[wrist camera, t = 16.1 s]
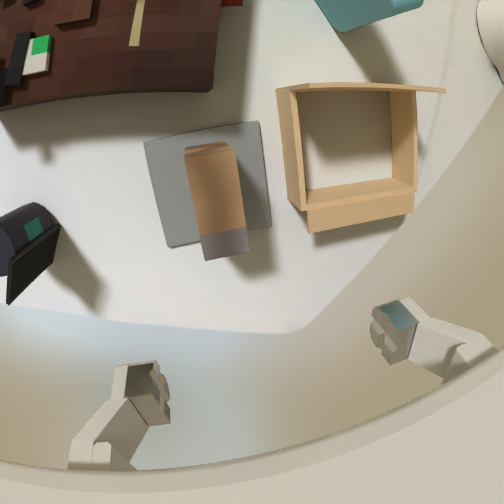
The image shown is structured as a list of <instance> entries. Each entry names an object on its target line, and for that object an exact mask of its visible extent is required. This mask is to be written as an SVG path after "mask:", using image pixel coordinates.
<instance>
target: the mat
mask: <svg viewBox="0 0 504 504" xmlns="http://www.w3.org/2000/svg"><path fill="white" fill-rule="evenodd" d="M217 141H225V142H226V143H227V144H228V145H230V146H231V147H232V148H233V149H234V150H235V153H236V160H237V167H238V174H239V181H240V188H241V194H242V201H243V208H244V215H245V221H246V227H247V231H249V230H253V229H258V228H263V227H268V226H271V220H270V211H269V202H268V194H267V186H266V177H265V169H264V161H263V153H262V145H261V137H260V130H259V122H258V121H253V122H246V123H239V124H233V125H226V126H220V127H214V128H209V129H203V130H198V131H193V132H188V133H183V134H178V135H173V136H169V137H164V138H160V139H156V140H151V141H147V142H144V143H143V144H144V149H145V154H146V159H147V164H148V168H149V173H150V177H151V182H152V186H153V190H154V195H155V199H156V203H157V207H158V211H159V215H160V219H161V223H162V227H163V231H164V235H165V238H166V242H167V246H168V247H172V246H177V245H182V244H186V243H191V242H196V241H200V236H199V230H198V225H197V221H196V216H195V211H194V206H193V201H192V196H191V191H190V186H189V181H188V176H187V171H186V166H185V160H184V155H185V148H186V147H191V146H196V145H201V144H206V143H211V142H217Z"/></svg>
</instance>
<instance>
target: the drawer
mask: <svg viewBox="0 0 504 504" xmlns="http://www.w3.org/2000/svg"><path fill="white" fill-rule="evenodd" d="M315 91H389V95H390V109H391V129H392V178H389V179H381V180H374V181H367V182H359V183H353V184H346V185H339V186H333V187H326V188H320V189H314V190H308V191H305V180H304V168H303V156H302V146H301V135H300V126H299V116H298V107H297V99H296V93H298V92H315ZM416 91H428V92H441V93H446V89H441V88H433V87H424V86H413V85H401V84H385V83H355V82H334V83H307V84H301V85H295V86H289V87H283V88H278V89H276V96H277V104H278V112H279V121H280V129H281V138H282V147H283V156H284V166H285V175H286V186H287V196H288V200H290V201H291V202H292V203H293V204H294V205H295V206H296V207H297V208H298V209H299V210H300V211H307V223H308V233H309V234H310V233H315V232H320V231H325V230H330V229H335V228H339V227H344V226H349V225H354V224H359V223H364V222H369V221H374V220H379V219H384V218H389V217H393V216H398V215H403V214H408V213H413V208H414V193H413V192H417V165H418V132H417V105H416Z"/></svg>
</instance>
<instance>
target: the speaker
mask: <svg viewBox="0 0 504 504" xmlns="http://www.w3.org/2000/svg"><path fill="white" fill-rule="evenodd" d="M60 227H61V225H60V224H57V225H56V226H54V227H52V223H51V220H50V216H49V214H48V213H47V212H46V210H45V209H44V208H43V207H42V206H41V205H40V204H38V203H35V202H33V203H30V204H27V205H24V206H21V207H19V208H17V209H15V210H13V211H11V212H9V213H8V214H6V215H4V216H2V217H0V277H2V276H7V275H8V276H7V293H6V304H8V305H10V304H11V303H12V302H13V301H14V300H15V299H16V298H17V297H18V296H19V295H20V294H21V293H22V292H23V291H24V290H25V289H26V288H27V287H28V286H29V285H30V284H31V283H32V282H33V281H34V280H35V279H36V278H37V277H38V276H39V275H40V274H41V273H42V272H43V271H44V270H45V269H46V268H47V267H48V266H49V265H51V264H52V263H53V258H54V253H55V249H56V244H57V240H58V235H59V231H60Z"/></svg>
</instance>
